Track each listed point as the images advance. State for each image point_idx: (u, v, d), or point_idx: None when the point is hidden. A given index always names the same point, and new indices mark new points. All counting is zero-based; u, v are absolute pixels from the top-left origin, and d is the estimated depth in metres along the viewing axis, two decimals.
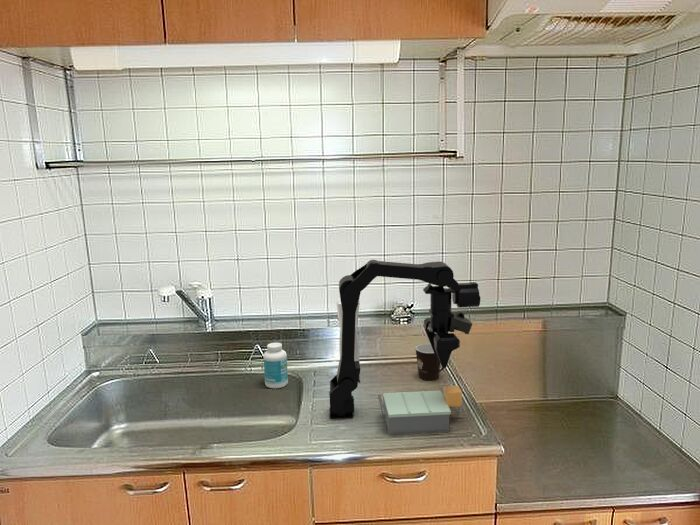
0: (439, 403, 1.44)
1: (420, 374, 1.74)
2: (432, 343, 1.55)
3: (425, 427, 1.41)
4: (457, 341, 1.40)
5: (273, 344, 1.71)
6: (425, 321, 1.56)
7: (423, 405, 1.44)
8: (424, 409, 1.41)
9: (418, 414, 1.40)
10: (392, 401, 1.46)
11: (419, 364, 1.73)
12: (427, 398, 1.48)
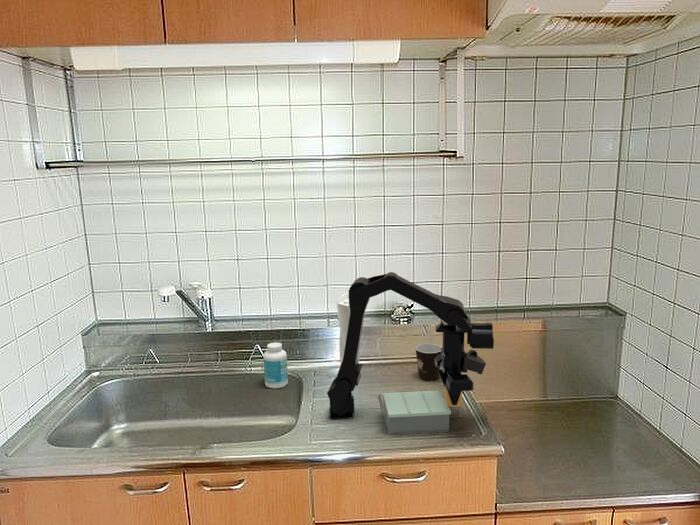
0: (439, 403, 1.44)
1: (420, 374, 1.74)
2: None
3: (425, 427, 1.41)
4: (471, 383, 1.35)
5: (273, 344, 1.71)
6: (436, 358, 1.51)
7: (423, 405, 1.44)
8: (424, 409, 1.41)
9: (418, 414, 1.40)
10: (392, 401, 1.46)
11: (419, 364, 1.73)
12: (427, 398, 1.48)
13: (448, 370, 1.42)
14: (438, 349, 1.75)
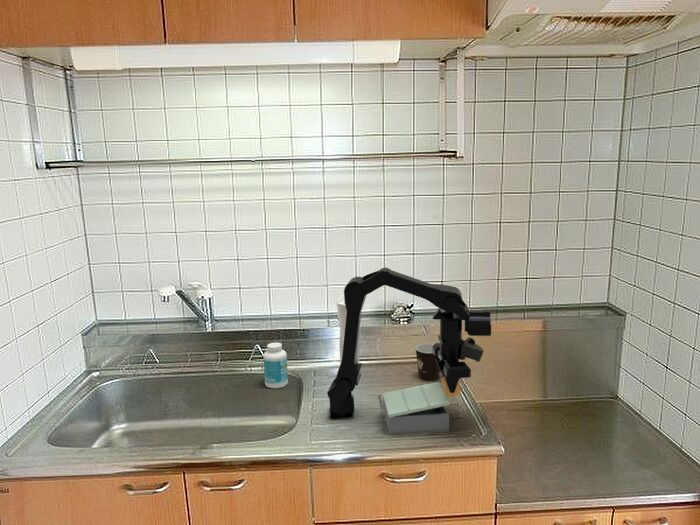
0: (438, 395, 1.44)
1: (420, 374, 1.74)
2: (443, 373, 1.47)
3: (425, 427, 1.41)
4: (468, 370, 1.35)
5: (273, 344, 1.71)
6: (434, 347, 1.51)
7: (422, 399, 1.43)
8: (423, 403, 1.41)
9: (418, 409, 1.39)
10: (391, 400, 1.46)
11: (419, 364, 1.73)
12: (426, 391, 1.47)
13: (446, 357, 1.41)
14: None
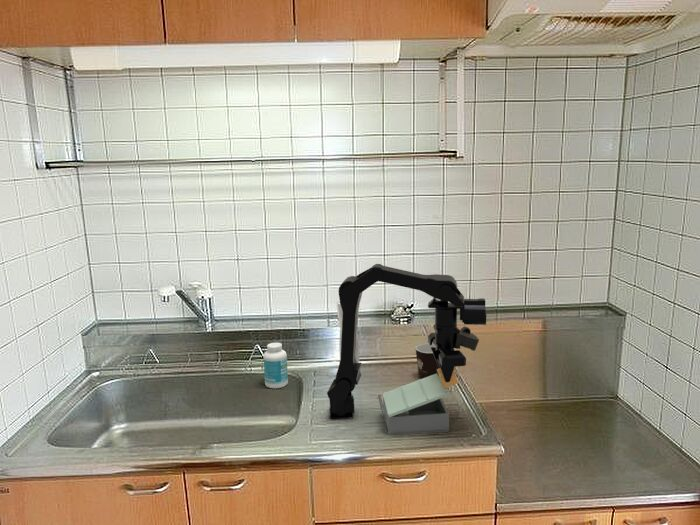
0: (436, 387, 1.43)
1: (420, 374, 1.74)
2: (439, 362, 1.46)
3: (425, 427, 1.41)
4: (463, 359, 1.34)
5: (273, 344, 1.71)
6: (429, 336, 1.50)
7: (421, 394, 1.43)
8: (422, 398, 1.41)
9: (416, 405, 1.39)
10: (391, 399, 1.46)
11: (419, 364, 1.73)
12: (424, 385, 1.47)
13: (441, 346, 1.40)
14: None
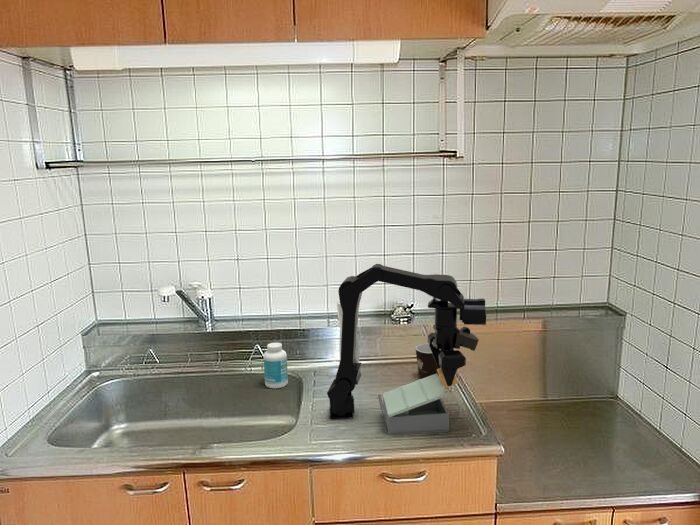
0: (435, 387, 1.43)
1: (420, 374, 1.74)
2: (436, 359, 1.48)
3: (425, 427, 1.41)
4: (463, 359, 1.34)
5: (273, 344, 1.71)
6: (429, 336, 1.50)
7: (421, 394, 1.43)
8: (422, 398, 1.41)
9: (416, 405, 1.39)
10: (391, 399, 1.46)
11: (419, 364, 1.73)
12: (424, 385, 1.47)
13: (440, 346, 1.40)
14: None
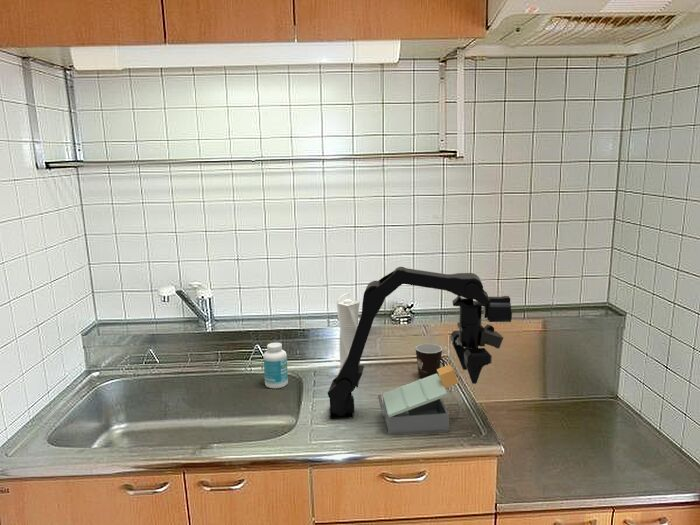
0: (435, 387, 1.43)
1: (420, 374, 1.74)
2: (460, 357, 1.49)
3: (425, 427, 1.41)
4: (489, 356, 1.34)
5: (273, 344, 1.71)
6: (452, 334, 1.50)
7: (421, 394, 1.43)
8: (422, 398, 1.41)
9: (416, 405, 1.39)
10: (391, 399, 1.46)
11: (419, 364, 1.73)
12: (424, 385, 1.47)
13: (465, 344, 1.41)
14: (438, 349, 1.75)
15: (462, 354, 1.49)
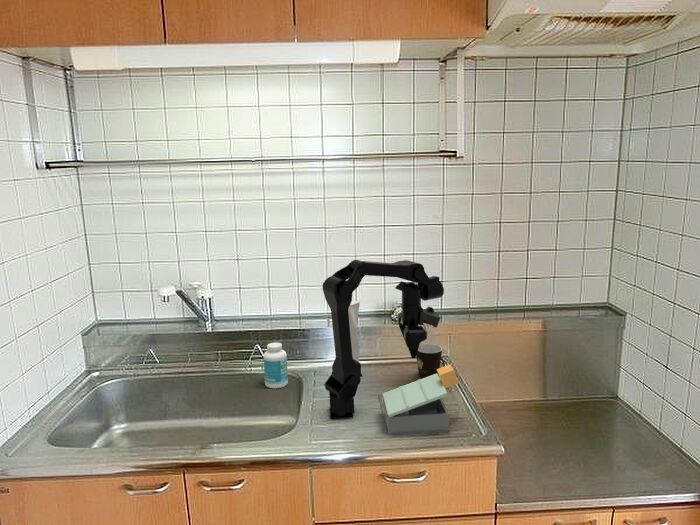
0: (435, 387, 1.43)
1: (420, 374, 1.74)
2: (404, 336, 1.66)
3: (425, 427, 1.41)
4: (424, 333, 1.52)
5: (273, 344, 1.71)
6: (398, 315, 1.68)
7: (421, 394, 1.43)
8: (422, 398, 1.41)
9: (416, 405, 1.39)
10: (391, 399, 1.46)
11: (419, 364, 1.73)
12: (424, 385, 1.47)
13: (406, 323, 1.58)
14: (438, 349, 1.75)
15: None
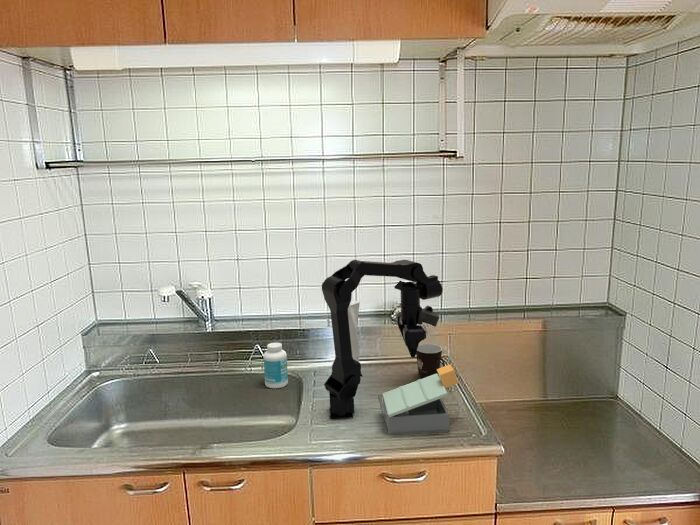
0: (435, 387, 1.43)
1: (420, 374, 1.74)
2: (403, 335, 1.67)
3: (425, 427, 1.41)
4: (423, 332, 1.52)
5: (273, 344, 1.71)
6: (397, 315, 1.68)
7: (421, 394, 1.43)
8: (422, 398, 1.41)
9: (416, 405, 1.39)
10: (391, 399, 1.46)
11: (419, 364, 1.73)
12: (424, 385, 1.47)
13: (405, 322, 1.58)
14: (438, 349, 1.75)
15: None
